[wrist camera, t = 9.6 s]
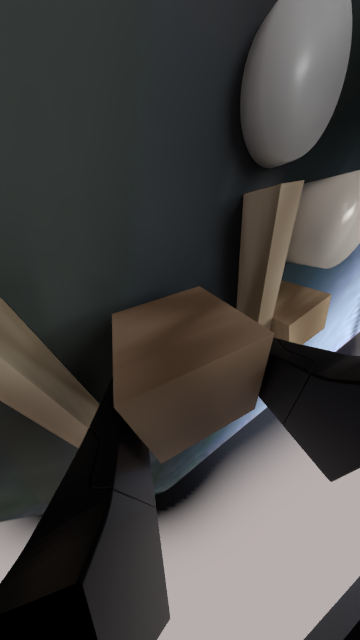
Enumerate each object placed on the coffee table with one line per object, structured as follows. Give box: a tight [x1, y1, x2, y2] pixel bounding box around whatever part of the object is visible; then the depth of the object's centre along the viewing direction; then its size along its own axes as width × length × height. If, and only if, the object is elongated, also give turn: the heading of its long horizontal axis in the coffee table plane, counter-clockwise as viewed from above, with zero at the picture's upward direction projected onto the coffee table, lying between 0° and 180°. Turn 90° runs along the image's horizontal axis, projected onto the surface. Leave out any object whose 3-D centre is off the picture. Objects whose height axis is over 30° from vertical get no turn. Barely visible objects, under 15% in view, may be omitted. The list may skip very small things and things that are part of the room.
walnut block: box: [112, 286, 274, 464], centre depth 8 cm, size 5×5×5 cm
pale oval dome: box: [286, 170, 360, 269], centre depth 10 cm, size 5×5×4 cm
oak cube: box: [270, 281, 331, 345], centre depth 14 cm, size 4×4×4 cm
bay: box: [0, 180, 304, 449], centre depth 10 cm, size 17×14×2 cm
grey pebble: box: [240, 0, 352, 168], centre depth 7 cm, size 5×5×2 cm
